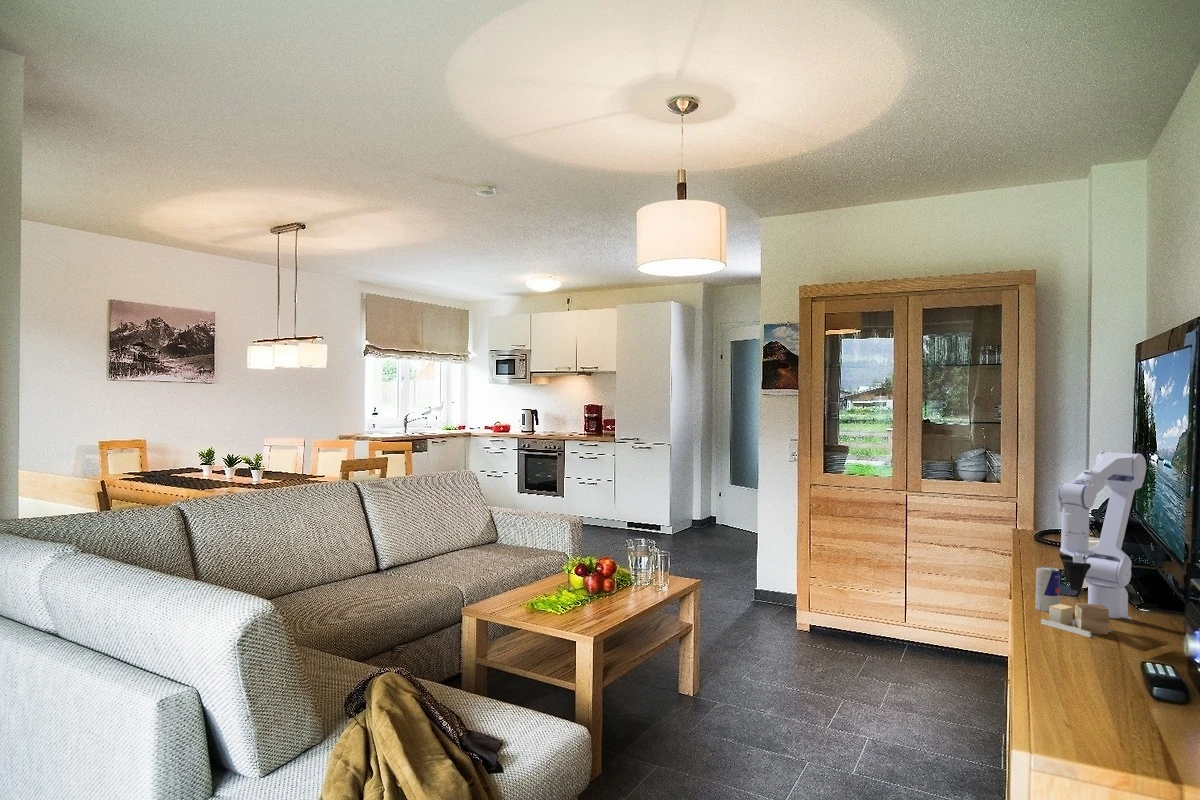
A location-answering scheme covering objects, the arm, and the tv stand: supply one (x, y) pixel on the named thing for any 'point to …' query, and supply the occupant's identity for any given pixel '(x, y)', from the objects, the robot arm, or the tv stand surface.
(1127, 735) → the tv stand surface
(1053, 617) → the beige rectangular block
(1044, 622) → the shelf board
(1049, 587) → the energy drink
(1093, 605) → the brown thick square block
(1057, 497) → the robot arm
